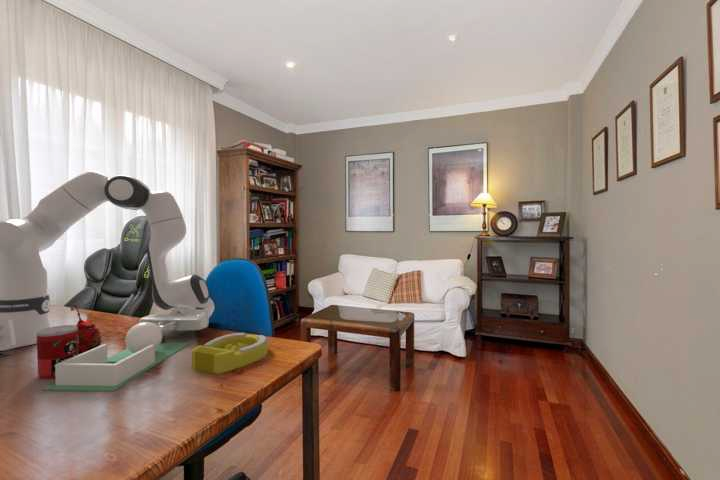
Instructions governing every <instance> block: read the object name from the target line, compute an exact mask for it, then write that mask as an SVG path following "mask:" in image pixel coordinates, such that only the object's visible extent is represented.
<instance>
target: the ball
mask: <svg viewBox="0 0 720 480" xmlns="http://www.w3.org/2000/svg"><path fill="white" fill-rule="evenodd" d="M124 339H125V340H124V344H125V346H126V349H127V348H128V350H129V351H131V352H132V353H136V352H138V351H140V350H142V349H144V348H146V347H148V346H149V345H155V349H157V347H158V346H159V345H160V343H162V340H163V331H161V329H160V328H159V327H158V326H157V325H156V324H154V323H151V322H142V323H139V322H138V323H137V324H134V325H133V326H132V327H131V328H129V330H128V331H127V333H126V335H125V338H124Z"/></svg>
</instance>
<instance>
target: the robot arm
mask: <svg viewBox="0 0 720 480" xmlns="http://www.w3.org/2000/svg"><path fill="white" fill-rule="evenodd" d="M106 202H110V203H111V204H112V205H114V206H116V207H119V208H122V209H124V210H132V211H133V210H135V211H138V210H141V211H142V212H143V213H144V214H145V217H146V219H147V222H148V225H149V227H150V228H149V229H150V240H149V241H148V242H147V245H146V253H147V254H146V255H147V261H148V267H149V268H148V269H149V273H150V274H149V275H150V280H151V287H152V289H151V290H152V291H151V292H152V293H151V295H152V296H151V297H152V302H153V303H154V304H155V306H156V307H158V308H160V309H162V310H164V311H169V310H171V311H170V313H154V314H151V315H150V314H148V315H146V316H143V317H141V318H140V319H139V321H138V323H142V322H151V323H154V324H156V325H157V326H158V327H159V328H160V329H161V331H162V332H167V331H178V332H187V331H200V330H203V329H206V328H208V327H209V323H210V321H209V318H210V317H211V316H212V314H213V313H214V311H215V303H214V301H213V300H212V298H210V288H209V285H208V283H207V281H206V280H205V279H204V278H202V277H201V276H199V275H197V274H191V275H187V276H184V277H183V276H182V277H181V278H177V279H174V280H169V276H168V270H167V264H166V257H167V255H168V253H169V252H171V250H173V248H175V247H177V245H179V244H180V243H181V242H182V241H183V240H184V239H185V236H186V234H187V226H186V222H185V219H184V216H183V214H182V212H181V208H180V206H179V205H178V203H177V201H176V199H175V197H174V196H173V194H172V193H170V192H168V191H167V190H166V191H164V190H156V191H151V190H150V188H149V187H148V185H146V184H145V183H144V182H142V181H141V180H139V179H137V178H134V177H133V176H130V175H125V174H119V175H115V176H112V177H110V178H109V176H107V175H105V174H104V173H103V172H100V171H98V170H89V171H85V172H84V173H81V174H79V175H77V176H75V177H73V178H72V179H69V180H68V181H67V182H65V183H63V184H62V185H60V186H59V187H58V188H56V189H54V190H53V191H51V192H50V193H49V194H47V195H46V196H44V197H43V198H41V199H40V200H39V202H38V204H37V205H36V207H34V208H33V210H32V211H31V212H30V213H29V214H28V215H26V216H25V217H23V218H21V219H13V218H7V219H6V218H5V219H1V220H0V351H8V350H12V349H16V348H21V347H27V346H30V345H31V346H32V345H35V344H36V345H37V332H38V331H40V330H42V329H45V328H50V327H53V326H52V322H51V318H50V317H51V316H50V313H49V312H50V310H51V309H50V307H51V304H50V301H51V300H50V294H49V293H48V271H47V269H46V268H45V267H44V264H43V262H42V259H41V255H40V253H41V252H43V251H45V250H47V249H49V248H50V247H52V246H53V245H54V244H55V242H56V241H57V240H59V239H60V238H61V237H62V236H63V235H64V234H65V232H67V231H68V230H69V229H70V228H71V227H72V226H73V225H75V224H76V223H77V222H78V221H80V220H81V219H83V218H84V217H86V216H87V215H89V214H90V213H91V212H93V210H95V209H97V207H99V206H100V205H102V204H104V203H106Z"/></svg>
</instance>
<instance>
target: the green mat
mask: <svg viewBox="0 0 720 480" xmlns="http://www.w3.org/2000/svg"><path fill="white" fill-rule="evenodd" d="M187 346H189V343H173V342H172V343H170V342H169V343H167V342H166V343H165V342H163V343H162V342H161V343H160V345H159V346H158V347H157V349H155V362H154V363H153V364H151V365H149V366H148V367H146V368H144V369H143V370H141V371H139V372H138V373H136V374H135V375H133V376H131V377H130V378H128V379H126V380H125V381H123V382H121V383H120V384H118V385H116V386H85V385H56V382H54V383H52V384H51V385H49V386H45V387H44V388H42V391H54V392H55V391H56V392H58V391H61V392H66V391H67V392H69V391H70V392H71V391H72V392H115V391H116V390H118V389H120V388H121V387H123V386H124V385H126V384H128V383H130V382H131V381H132V380H134V379H136V378H137V377H139V376H140V375H143V374H144V373H145V372H147V371H149V370H150V369H152V368H154V367H156V365H158V364H160V363H162V362H163V361H164V360H167V359H168V358H170V357H171V356H173V355H175V354H176V353H177V352H180V351H181V350H182V349H185V347H187ZM132 354H134V353H132V352H131V351H129V350H128V348H127V347H126V349H123V350H121V351H119V352H117V353H115V354H113V355H111V356H109V357H108V363H107V364H114V363H116V362H118V361H120V360H122V359H124V358H126V357H128V356H130V355H132Z"/></svg>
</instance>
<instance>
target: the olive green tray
mask: <svg viewBox="0 0 720 480" xmlns="http://www.w3.org/2000/svg"><path fill="white" fill-rule="evenodd" d="M268 342H269V340H268V338H267V337H266V336H264V335H263V334H259V335H258V334H250V333H249V334H246V333H245V332H237V333H229V334H224V335H222V336H218V337H215V338H213V339H212V340H209V341H207V342H206V343H204V344H203V345H199V344H198V345H197V346H195V347H194V348H193V349H192V350H191V369H192V370H195V371H200V372H207V373H211V374H212V373H213V374H223V373H226V372H229V371H232V370H237V369H239V368H243V367H245V366H247V365H250V364H253V363H255V362H258V361H259V360H261V359H263V358H264V357H266V356H267V355H268V352H269V346H268Z"/></svg>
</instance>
